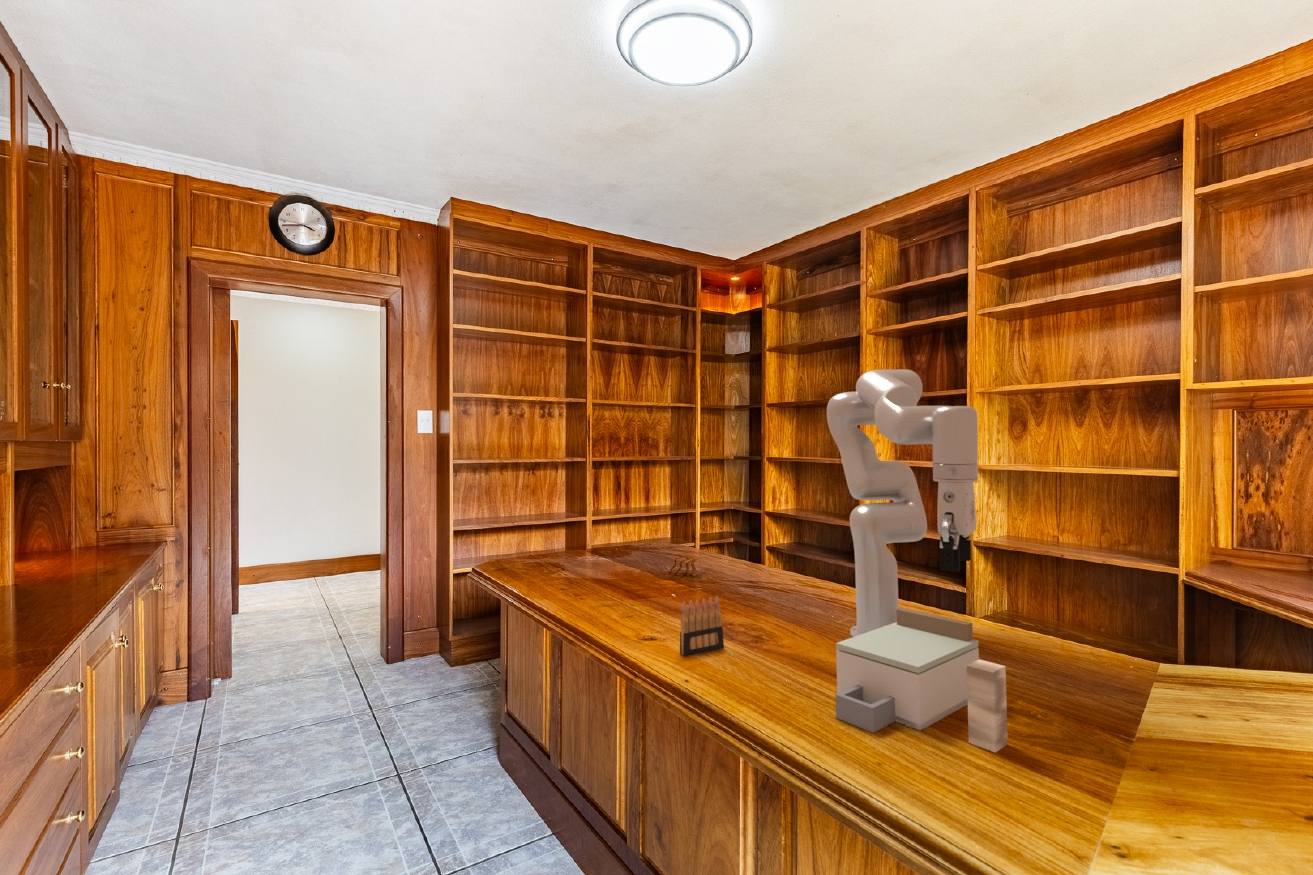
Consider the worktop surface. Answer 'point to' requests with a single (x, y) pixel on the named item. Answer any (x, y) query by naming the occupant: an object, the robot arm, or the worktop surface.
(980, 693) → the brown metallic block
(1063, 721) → the worktop surface
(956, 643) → the toolbox lid
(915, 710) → the toolbox
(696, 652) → the ammunition clip
